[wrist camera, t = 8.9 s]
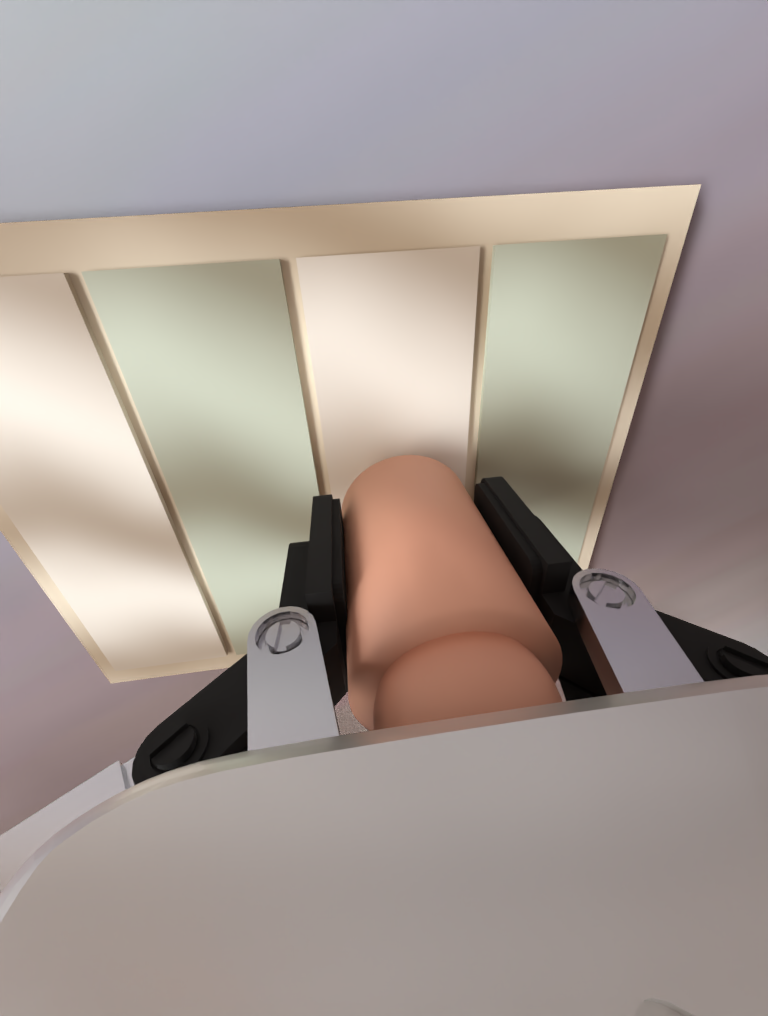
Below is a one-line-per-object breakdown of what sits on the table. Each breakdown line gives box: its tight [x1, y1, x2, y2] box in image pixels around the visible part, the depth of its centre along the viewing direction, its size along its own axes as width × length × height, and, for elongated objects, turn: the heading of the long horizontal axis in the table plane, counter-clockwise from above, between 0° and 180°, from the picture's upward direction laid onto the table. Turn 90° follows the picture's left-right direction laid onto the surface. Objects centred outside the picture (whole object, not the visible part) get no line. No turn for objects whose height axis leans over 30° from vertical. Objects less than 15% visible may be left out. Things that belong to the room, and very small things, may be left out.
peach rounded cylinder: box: [342, 455, 562, 731], centre depth 9 cm, size 4×4×8 cm
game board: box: [0, 184, 701, 683], centre depth 14 cm, size 16×21×1 cm
